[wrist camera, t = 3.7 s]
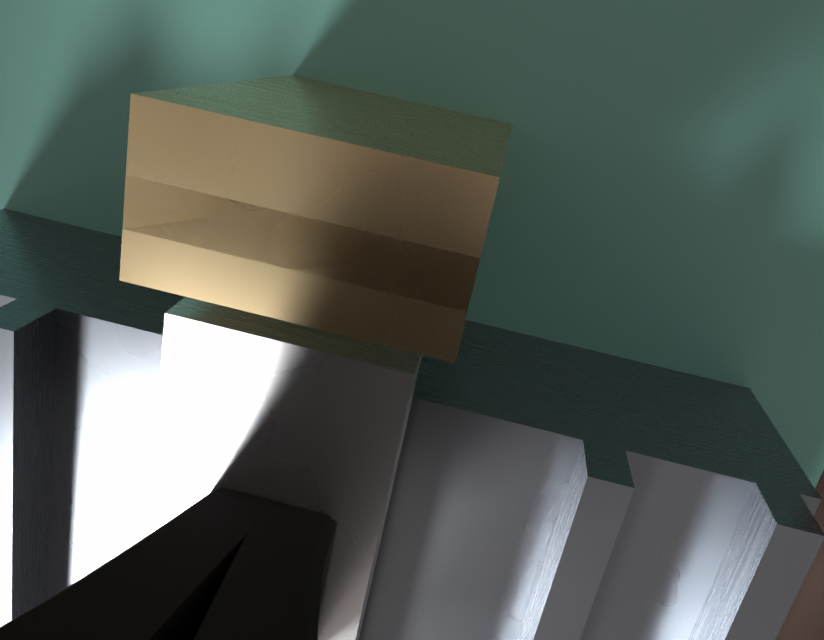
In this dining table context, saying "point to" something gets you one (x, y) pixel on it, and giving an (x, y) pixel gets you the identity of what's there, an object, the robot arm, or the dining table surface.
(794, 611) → the dining table surface
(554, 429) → the heat sink
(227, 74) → the circuit board
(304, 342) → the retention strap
